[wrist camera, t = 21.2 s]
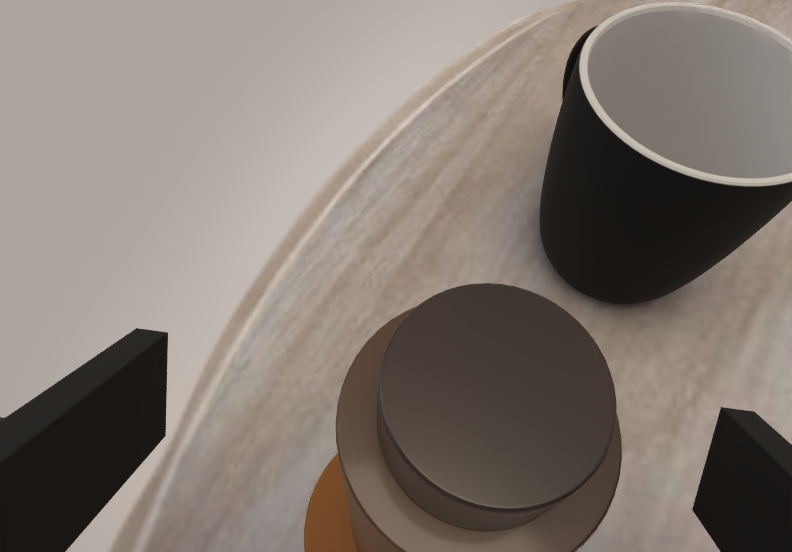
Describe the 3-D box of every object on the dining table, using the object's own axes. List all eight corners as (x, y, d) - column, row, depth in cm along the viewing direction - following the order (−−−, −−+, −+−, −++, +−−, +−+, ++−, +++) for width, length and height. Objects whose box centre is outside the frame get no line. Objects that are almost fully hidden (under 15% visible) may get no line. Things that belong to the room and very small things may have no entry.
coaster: (311, 676, 20) (310, 677, 19) (300, 436, 24) (299, 433, 23) (544, 640, 20) (547, 640, 20) (495, 414, 24) (497, 410, 24)
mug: (738, 306, 27) (909, 156, 19) (560, 351, 26) (655, 211, 17) (622, 121, 33) (711, -58, 25) (470, 149, 32) (508, -31, 23)
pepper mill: (361, 616, 20) (347, 601, 8) (344, 452, 23) (317, 260, 11) (520, 590, 21) (724, 541, 9) (485, 433, 24) (604, 231, 12)
